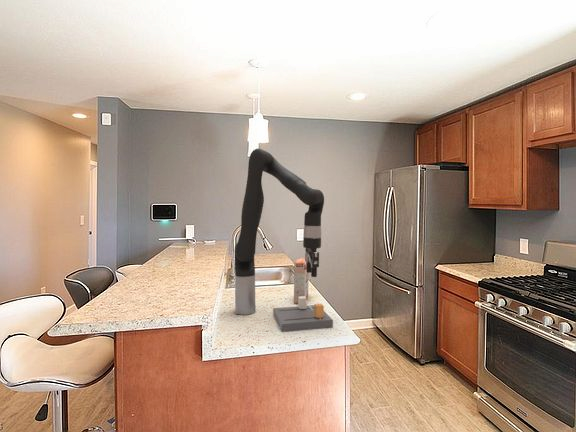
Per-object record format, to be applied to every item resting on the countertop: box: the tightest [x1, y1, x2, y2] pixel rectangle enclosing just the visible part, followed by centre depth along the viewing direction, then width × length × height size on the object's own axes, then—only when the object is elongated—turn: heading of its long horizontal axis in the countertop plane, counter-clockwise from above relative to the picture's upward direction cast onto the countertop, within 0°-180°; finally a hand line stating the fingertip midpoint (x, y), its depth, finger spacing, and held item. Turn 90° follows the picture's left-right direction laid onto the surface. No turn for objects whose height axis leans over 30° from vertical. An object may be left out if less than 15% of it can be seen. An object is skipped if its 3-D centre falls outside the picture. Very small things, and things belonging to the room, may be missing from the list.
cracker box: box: [293, 257, 309, 304], centre depth 167 cm, size 14×6×21 cm, turn 168°
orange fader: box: [313, 303, 325, 318], centre depth 132 cm, size 3×3×5 cm
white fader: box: [297, 296, 308, 309], centre depth 143 cm, size 3×3×5 cm
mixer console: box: [272, 304, 334, 333], centre depth 137 cm, size 21×20×3 cm
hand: (311, 274), depth 136 cm, fingers open, 8 cm apart
